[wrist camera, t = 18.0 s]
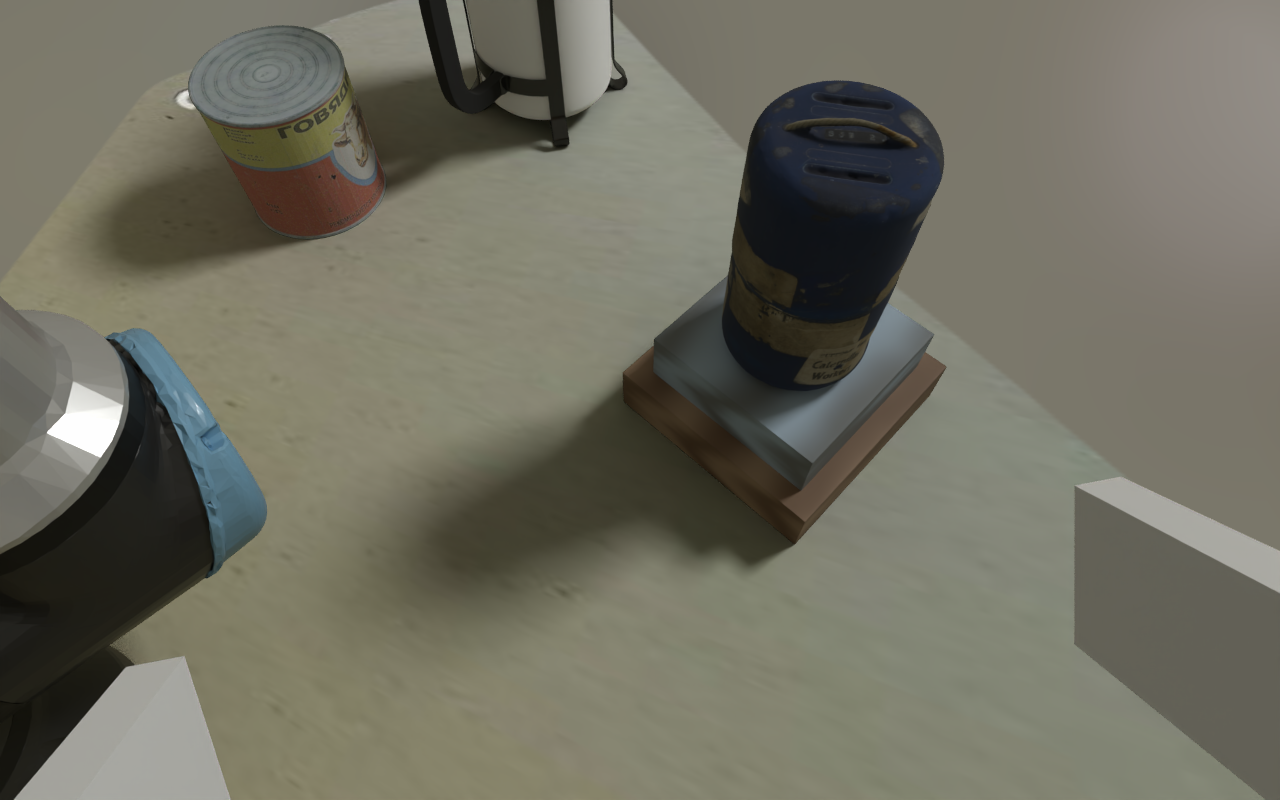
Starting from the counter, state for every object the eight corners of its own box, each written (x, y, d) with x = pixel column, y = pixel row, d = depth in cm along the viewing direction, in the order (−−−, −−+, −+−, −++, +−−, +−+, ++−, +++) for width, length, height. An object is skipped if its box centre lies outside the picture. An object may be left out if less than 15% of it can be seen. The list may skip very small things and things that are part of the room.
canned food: (366, 244, 68) (317, 130, 57) (235, 233, 68) (163, 119, 58) (400, 149, 73) (361, 29, 63) (279, 140, 74) (220, 20, 64)
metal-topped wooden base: (623, 401, 60) (621, 339, 53) (762, 278, 66) (776, 208, 59) (794, 544, 54) (817, 496, 47) (929, 396, 60) (966, 333, 53)
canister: (750, 263, 56) (791, 29, 41) (883, 309, 54) (980, 82, 39) (696, 369, 52) (720, 152, 36) (839, 423, 50) (928, 218, 34)
